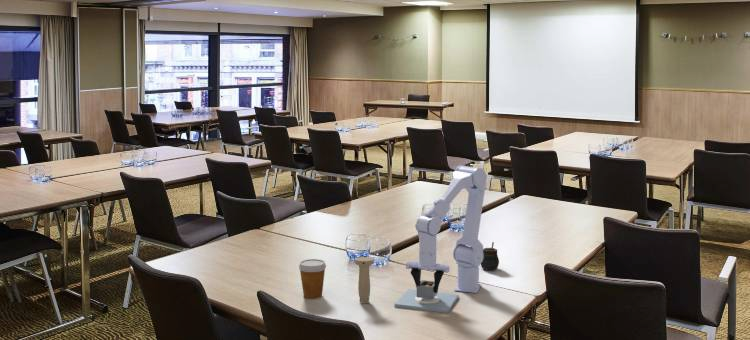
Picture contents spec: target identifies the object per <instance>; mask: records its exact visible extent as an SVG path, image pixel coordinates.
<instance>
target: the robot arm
mask: <svg viewBox="0 0 750 340" xmlns="http://www.w3.org/2000/svg"><path fill="white" fill-rule="evenodd" d="M487 177H488V175H487V172H486V171H485V170H484V169H483V168H482V167H474V166H466V165H464V164H463V165H462V164H460V165H458V166H457V167H456V168H455V169H454V171H453V172H452V180H451V182H450V183H449V185H448V187H447V188H446V190H445V191H444V193H443V195H442V197H440V198H436V199H435V200H434V201H433V203H432V204H431V206H430V207H429V209H428V210H427V211H426V213H425V214H424V215H421V216H420V217H418V219H416V224H414V226H415V230H416V231H417V237H418V238H419V239H418V241H419V242H418V246H419V248H418V261H406V262H405V269H406V270H410V269H411V270H410V275H411V276H412V278H413V280H414V283H415V287H416V289H417V285H418V284H419V283H420V282H421V281H422V280H421V277H422V274H421V273H422V270H423V271H434V273H433V277H434V279H433V281H435V286H434V289H435V293H437V292H439V287H440V283H441V280H442V278H443V276H444V274H445V273H449V272H450V265H446V264H441V263H437V234H438V233H439V232H440V230H441V227H442V223H443V219H445V217H446V216H447V215H448V213H449V212H450V209H451V205H450V204H452V202H453V200H455V198H456V197H457V196H458V195H459V194H460V192H461V191H462V190H463V189H465V190H466V192H468V197H467V204H466V208H465V209H466V210H465V218H464V223H463V231H462V236H461V237H460V238H458V239H457V240H456V243H455V246H454V248H453V252H452V256H453V257H452V258H453V260H454V261H456V262H455V264H457V283H456V284H457V285H456V286H455V288H454V289H453V290H454V291H455V292H464V293H472V294H476V293H478V291H479V290H480V288H481V287H482V283H480V282H479V281H480V279H479V278H480V267H481V263H482V261H483V249H484V244H483V243H482V242H481V241H480V240H479V232H480V227H481V226H480V224H481V220H482V219H481V218H482V210H483V206H484V197H485V192H486V183H487Z"/></svg>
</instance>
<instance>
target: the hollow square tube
mask: <svg viewBox="0 0 750 340" xmlns="http://www.w3.org/2000/svg"><path fill="white" fill-rule="evenodd" d="M420 281H421V282H420V283H419V284H418V285H417V288H416V290H417V297H418V298H428V299H433V298H434V297H435V296H436V295H437V293H438V292H439V291H438V292H437V293H435V289H434V286H435V281H434V280H424V279H421V280H420ZM426 285H429V286H426Z"/></svg>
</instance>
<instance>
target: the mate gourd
mask: <svg viewBox="0 0 750 340" xmlns="http://www.w3.org/2000/svg"><path fill="white" fill-rule="evenodd" d="M494 243H495V242H494V241H493V242H492V243H491V247H485V248H484V247H483V261H482V263H481V264H480V267H481V268H482V269H483V270H484V271H487V272H488V271H490V272H491V271H495V270H497V269H498V268H499V264H500V259H499V256H498V249H497V248H494Z"/></svg>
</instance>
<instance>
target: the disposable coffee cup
mask: <svg viewBox="0 0 750 340" xmlns="http://www.w3.org/2000/svg"><path fill="white" fill-rule="evenodd" d="M326 268H327V263H326V261H325V260H323V259H318V258H310V259H309V258H308V259H303V260H301V261H300V262H299V265H298V269H299V272H300V280H301V285H302V292H303V293H302V294H303V298H305V299H308V300H314V299H319V298H322V296H323V289H324V279H325V272H326V271H325V270H326Z"/></svg>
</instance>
